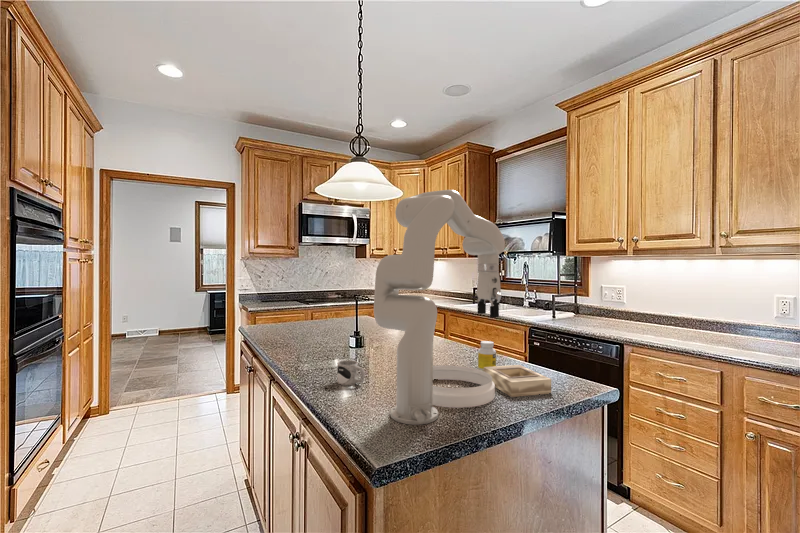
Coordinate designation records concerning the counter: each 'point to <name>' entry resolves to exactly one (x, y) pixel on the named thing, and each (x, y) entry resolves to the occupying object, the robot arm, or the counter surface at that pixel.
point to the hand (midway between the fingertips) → (487, 315)
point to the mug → (349, 373)
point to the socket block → (518, 380)
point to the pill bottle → (486, 355)
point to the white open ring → (462, 395)
